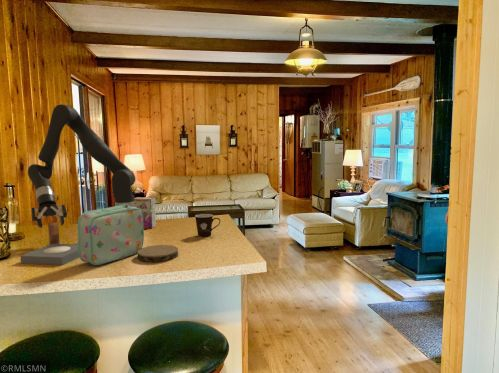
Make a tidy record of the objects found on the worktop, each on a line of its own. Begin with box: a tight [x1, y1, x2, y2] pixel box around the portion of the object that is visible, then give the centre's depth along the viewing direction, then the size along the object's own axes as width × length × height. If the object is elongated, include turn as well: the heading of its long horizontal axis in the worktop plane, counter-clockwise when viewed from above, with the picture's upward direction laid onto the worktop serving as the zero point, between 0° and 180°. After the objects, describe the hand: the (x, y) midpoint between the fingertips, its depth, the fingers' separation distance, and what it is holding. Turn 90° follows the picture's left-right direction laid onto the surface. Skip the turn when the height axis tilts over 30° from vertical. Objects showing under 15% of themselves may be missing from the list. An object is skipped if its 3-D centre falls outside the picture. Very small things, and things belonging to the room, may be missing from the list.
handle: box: [46, 221, 64, 246], centre depth 166 cm, size 6×6×11 cm
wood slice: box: [137, 244, 179, 264], centre depth 150 cm, size 16×16×3 cm
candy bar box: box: [134, 196, 157, 229], centre depth 204 cm, size 11×5×16 cm, turn 77°
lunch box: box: [77, 204, 145, 266], centre depth 148 cm, size 27×10×21 cm, turn 149°
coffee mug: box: [194, 213, 221, 238], centre depth 183 cm, size 12×9×10 cm
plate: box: [20, 243, 80, 266], centre depth 151 cm, size 18×18×3 cm
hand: (52, 225), depth 168 cm, fingers open, 8 cm apart
